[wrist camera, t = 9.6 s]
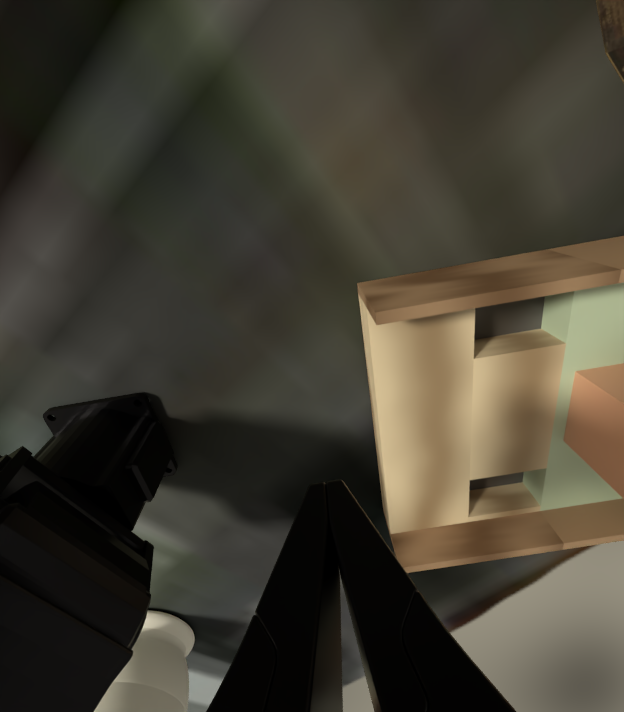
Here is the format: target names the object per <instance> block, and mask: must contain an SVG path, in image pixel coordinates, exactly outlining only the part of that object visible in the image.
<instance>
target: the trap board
mask: <svg viewBox="0 0 624 712" xmlns="http://www.w3.org/2000/svg"><path fill="white" fill-rule="evenodd" d="M620 274H621V269H617V268H614V267H610V266H606V265H603V264H599V263H595V262H592V261H588V260H584V259H580V258H577V257H573V256H569V255H566V254H562V253H558V252H555V251H551V250H541V251H536V252H530V253H524V254H519V255H513V256H507V257H502V258H496V259H491V260H485V261H479V262H474V263H468V264H462V265H457V266H451V267H445V268H440V269H434V270H429V271H423V272H417V273H412V274H406V275H400V276H395V277H389V278H384V279H378V280H372V281H367V282H361V283H357V286H358V294H359V303H360V312H361V320H362V329H363V338H364V347H365V355H366V364H367V373H368V381H369V390H370V399H371V408H372V416H373V425H374V434H375V442H376V451H377V460H378V468H379V477H380V486H381V495H382V503H383V511H384V515H385V519H386V522H387V526H388V530H389V534H390V537H391V541H392V545H393V548H394V552H395V556H396V558H397V560H398V561H399V563H400V564H401V565H402V567H403V568H404V570H405V571H406V573H410V572H417V571H423V570H430V569H437V568H443V567H450V566H457V565H463V564H470V563H477V562H483V561H490V560H497V559H503V558H510V557H517V556H523V555H530V554H537V553H543V552H550V551H557V550H563V546H564V543H563V541H562V540H561V539H560V537H559V536H558V535H557V533H556V532H555V531H554V529H553V528H552V527H551V525H550V524H549V523H548V521H547V520H546V519H545V517H544V516H543V515H542V513H541V512H540V507H541V506H540V505H539V503H538V502H537V501H536V499H535V498H534V497H533V495H532V494H531V493H530V491H529V490H528V489H527V487H526V486H525V485H524V483H523V475H524V472H526V471H532V470H538V469H545V468H547V463H548V456H549V450H550V443H551V437H552V431H553V424H554V418H555V411H556V405H557V399H558V392H559V386H560V379H561V373H562V367H563V360H564V354H565V347H566V343H564V342H563V341H561V340H559V339H558V338H556V337H554V336H553V335H551V334H549V333H548V332H546V331H544V330H543V329H541V325H542V317H543V308H544V300H545V296H549V295H554V294H560V293H566V292H572V291H577V290H583V289H589V288H595V287H600V286H606V285H612V284H618V283H619V279H620Z"/></svg>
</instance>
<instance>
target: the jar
mask: <svg viewBox="0 0 624 712" xmlns="http://www.w3.org/2000/svg"><path fill="white" fill-rule="evenodd" d="M194 642H195V636H194V633H193V630H192V629H191V628H190V626H189V625H188V624H187V623H186V622H184V621H183V620H181V619H179V618H178V617H176V616H173V615H171V614H167V613H164V612H159V611H151V610H148V611H147V616H146V620H145V623H144V625H143V628H142V631H141V633H140V635H139V637H138V639H137V641H136V643H135V644H134V646H133V648H132V649H131V650H133V656H132V658H131V659H130V661H129V662H128V663H127V665H126V666H125V667H124V668H123V670H122V671H121V672H120V673H119V675H118V676H117V677H116V678H115V680H114V681H113V682H112V684H111V685H110V687H109V688H108V690H107V692H106V693H105V695H104V696H103V698H102V699H101V701H100V702H99V704H98V706H97V707H96V709H95V710H94V712H187V707H188V696H189V675H188V667H187V661H186V657H187V655H188V654H189V653H190V651H191V650H192V648H193V645H194Z"/></svg>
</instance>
